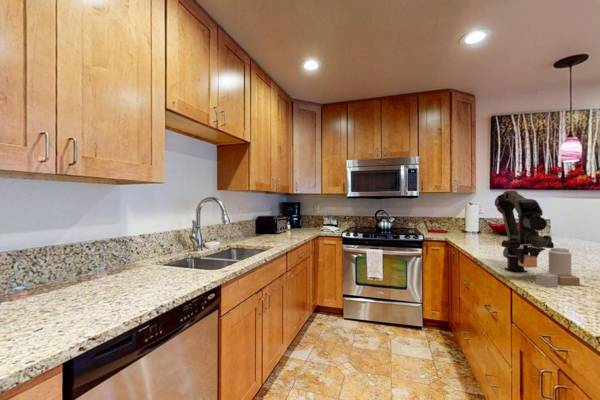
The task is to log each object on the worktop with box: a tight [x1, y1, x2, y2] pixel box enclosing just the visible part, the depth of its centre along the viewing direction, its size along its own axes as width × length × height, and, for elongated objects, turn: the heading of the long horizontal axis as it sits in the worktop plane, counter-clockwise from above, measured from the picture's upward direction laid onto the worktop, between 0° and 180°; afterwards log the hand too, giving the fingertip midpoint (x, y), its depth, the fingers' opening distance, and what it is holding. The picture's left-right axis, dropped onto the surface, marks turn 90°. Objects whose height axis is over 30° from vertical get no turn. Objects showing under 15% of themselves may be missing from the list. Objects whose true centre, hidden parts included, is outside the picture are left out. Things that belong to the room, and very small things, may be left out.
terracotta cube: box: [518, 254, 538, 268], centre depth 122 cm, size 4×4×4 cm
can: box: [548, 247, 572, 275], centre depth 126 cm, size 8×8×12 cm
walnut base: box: [547, 272, 581, 287], centre depth 114 cm, size 7×7×4 cm
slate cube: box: [536, 272, 559, 289], centre depth 111 cm, size 4×4×4 cm
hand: (527, 263), depth 122 cm, fingers closed on terracotta cube, 4 cm apart
